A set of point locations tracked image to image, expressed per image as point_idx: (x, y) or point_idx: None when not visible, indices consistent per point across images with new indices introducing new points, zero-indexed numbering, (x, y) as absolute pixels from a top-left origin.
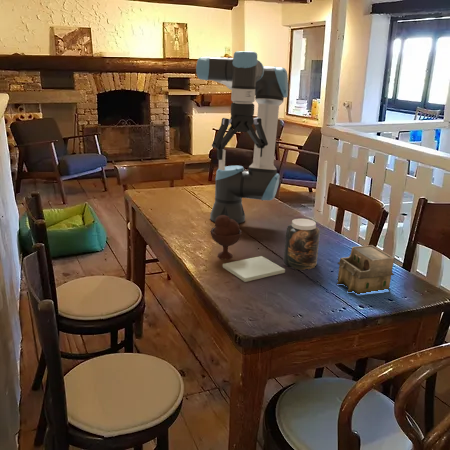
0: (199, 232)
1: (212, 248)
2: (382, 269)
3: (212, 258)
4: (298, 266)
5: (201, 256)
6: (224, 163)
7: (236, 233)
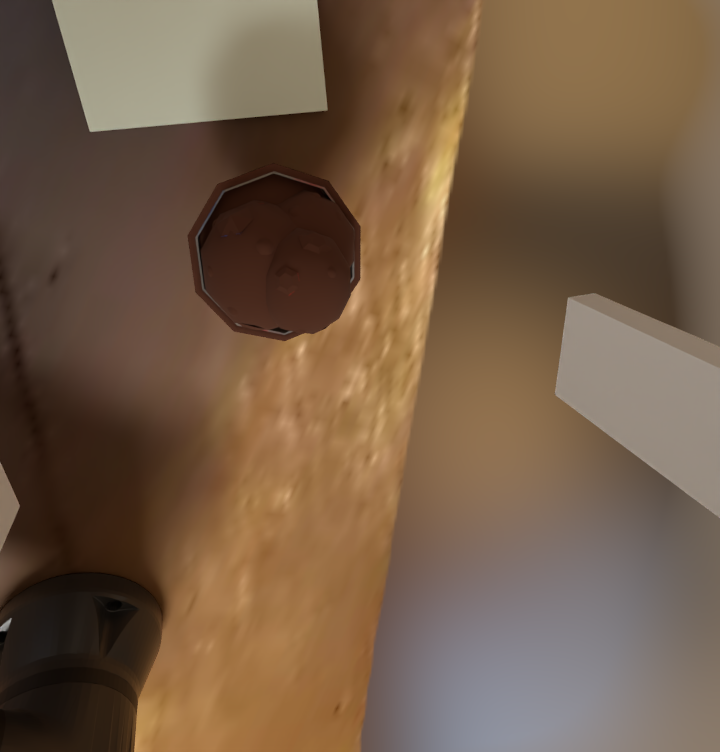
0: (260, 503)
1: None
2: None
3: None
4: None
5: None
6: (644, 328)
7: (237, 206)
